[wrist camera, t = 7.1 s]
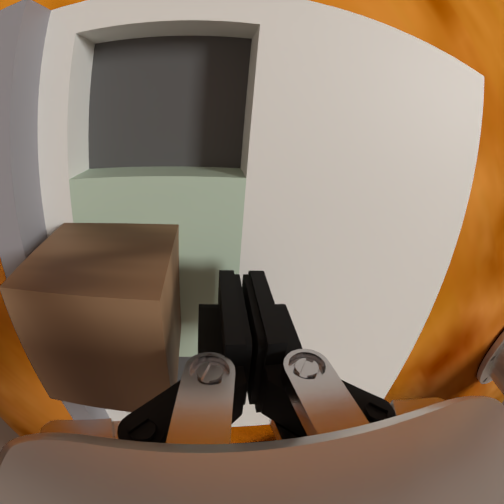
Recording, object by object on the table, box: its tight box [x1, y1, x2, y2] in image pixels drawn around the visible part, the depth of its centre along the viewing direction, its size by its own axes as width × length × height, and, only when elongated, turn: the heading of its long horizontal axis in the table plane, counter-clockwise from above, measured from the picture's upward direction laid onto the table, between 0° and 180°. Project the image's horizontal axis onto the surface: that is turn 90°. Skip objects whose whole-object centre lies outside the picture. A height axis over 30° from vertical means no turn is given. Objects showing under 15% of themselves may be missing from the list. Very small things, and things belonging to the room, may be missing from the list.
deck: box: [0, 0, 484, 427], centre depth 13 cm, size 22×24×4 cm
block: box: [0, 223, 181, 412], centre depth 9 cm, size 5×5×5 cm
